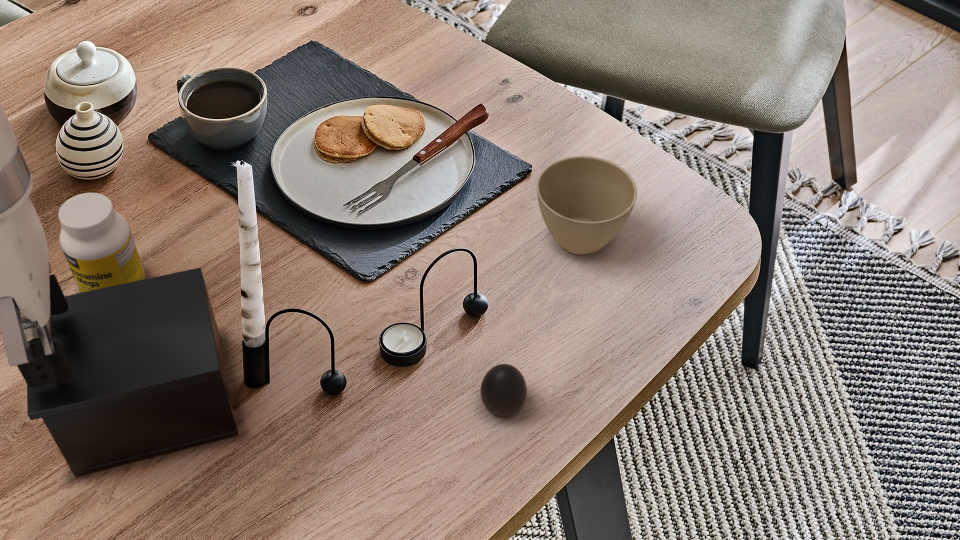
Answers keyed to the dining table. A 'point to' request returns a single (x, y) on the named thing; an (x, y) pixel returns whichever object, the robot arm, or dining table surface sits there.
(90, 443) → the compartment
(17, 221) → the robot arm
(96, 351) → the lid
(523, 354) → the dining table surface
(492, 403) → the egg
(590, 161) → the tan bowl
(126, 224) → the pill bottle
